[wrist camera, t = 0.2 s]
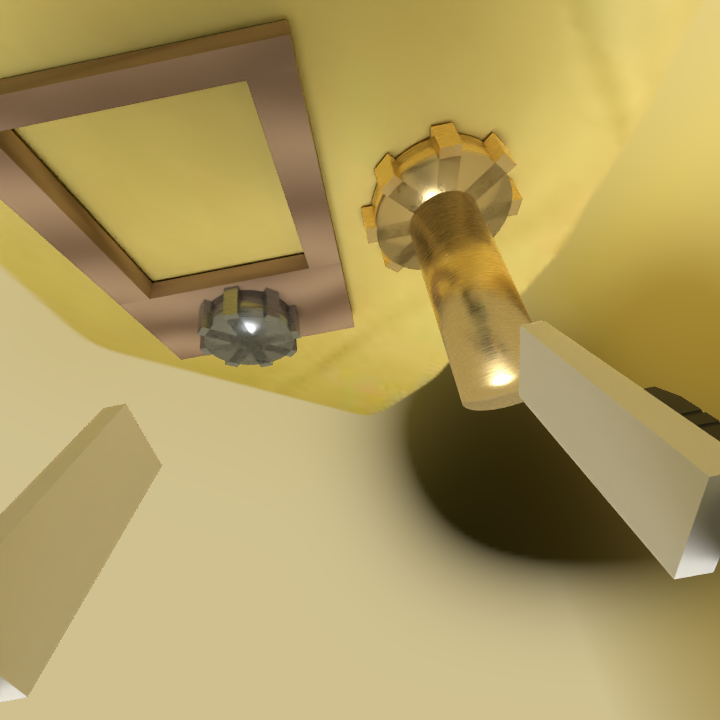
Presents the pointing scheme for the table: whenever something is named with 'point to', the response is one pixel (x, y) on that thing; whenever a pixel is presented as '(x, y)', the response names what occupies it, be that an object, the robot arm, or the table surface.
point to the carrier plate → (158, 80)
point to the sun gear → (248, 327)
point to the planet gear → (457, 253)
